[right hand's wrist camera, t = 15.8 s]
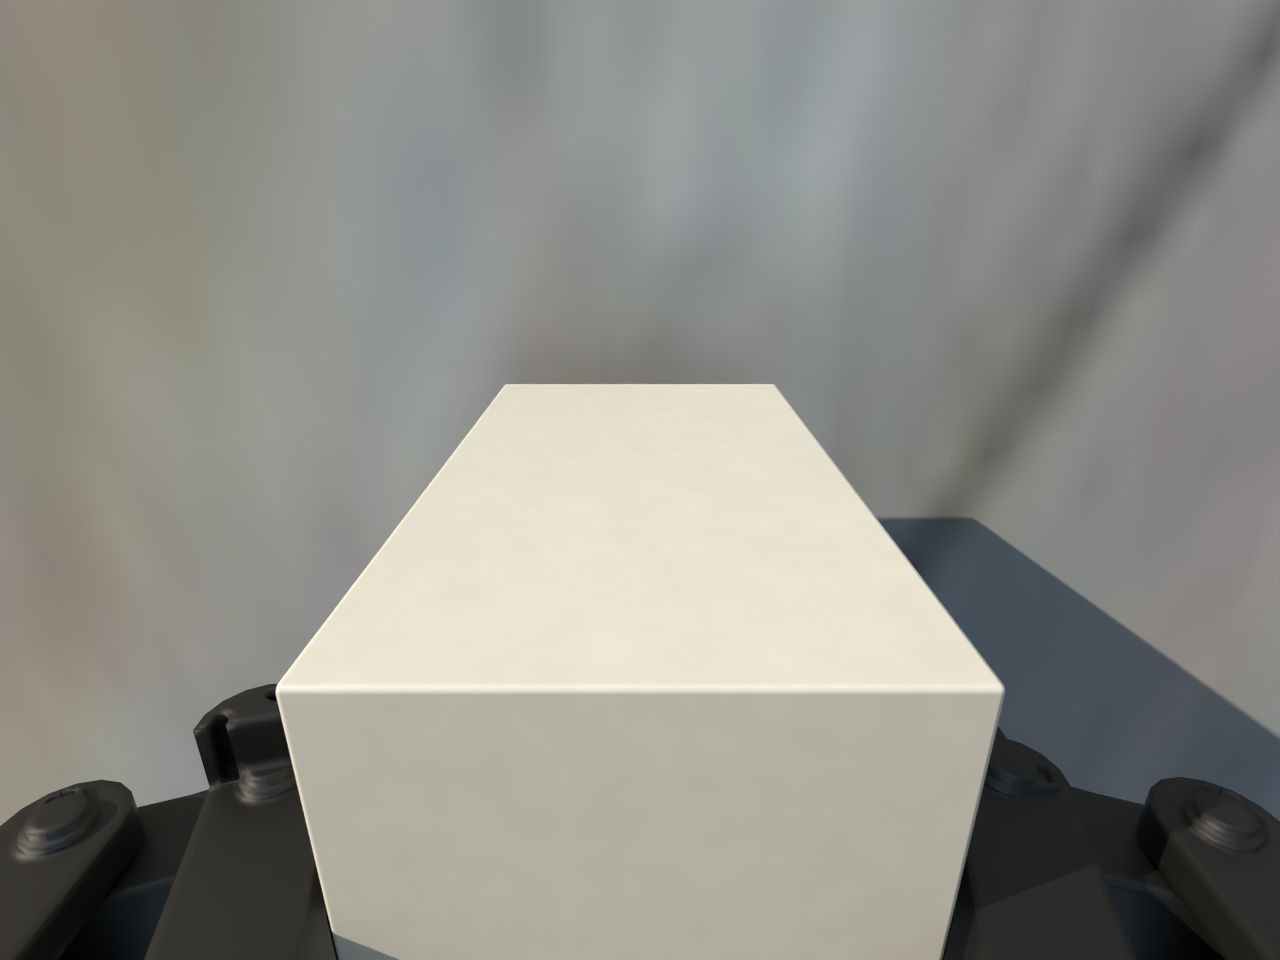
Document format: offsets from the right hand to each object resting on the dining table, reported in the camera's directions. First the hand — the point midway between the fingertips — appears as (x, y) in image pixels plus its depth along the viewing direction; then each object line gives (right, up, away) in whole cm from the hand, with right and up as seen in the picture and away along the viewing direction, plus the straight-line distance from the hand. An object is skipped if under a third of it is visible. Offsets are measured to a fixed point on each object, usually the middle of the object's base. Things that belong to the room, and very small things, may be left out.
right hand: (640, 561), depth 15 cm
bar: (0, -8, +4) cm, 9 cm away
